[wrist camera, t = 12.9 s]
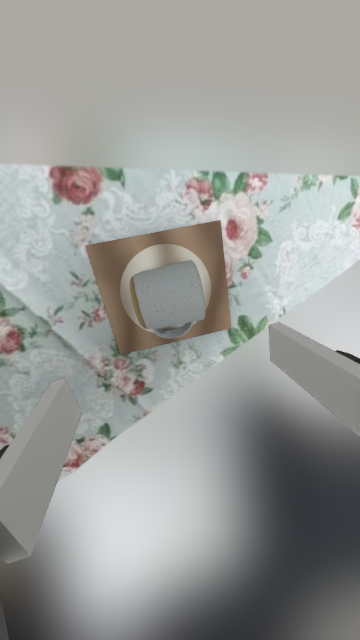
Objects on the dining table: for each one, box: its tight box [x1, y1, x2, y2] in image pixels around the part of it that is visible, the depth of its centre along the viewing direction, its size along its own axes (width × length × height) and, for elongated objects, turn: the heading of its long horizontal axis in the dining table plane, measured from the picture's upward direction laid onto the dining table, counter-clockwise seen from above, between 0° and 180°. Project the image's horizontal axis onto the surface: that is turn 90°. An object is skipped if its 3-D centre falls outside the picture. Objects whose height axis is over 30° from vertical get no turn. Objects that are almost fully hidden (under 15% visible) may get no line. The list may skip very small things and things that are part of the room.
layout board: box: [85, 221, 231, 355], centre depth 30 cm, size 18×16×1 cm
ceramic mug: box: [129, 260, 206, 338], centre depth 26 cm, size 11×8×8 cm
